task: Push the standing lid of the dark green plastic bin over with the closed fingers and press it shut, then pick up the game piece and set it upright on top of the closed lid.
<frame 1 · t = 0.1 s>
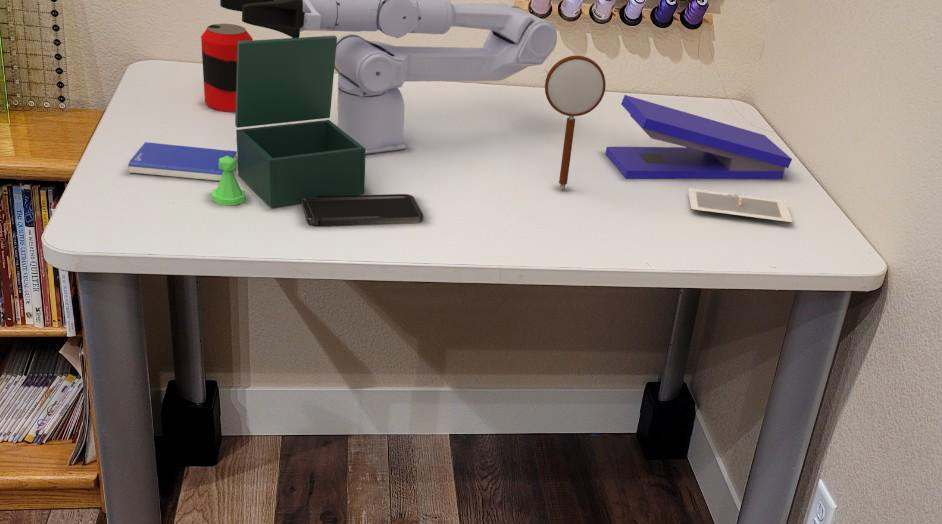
hand: (231, 6, 138), 22 cm above the table, tool horizontal, fingers open, 7 cm apart
bin: (301, 185, 144), on the table
phone: (362, 216, 139), on the table
stapler: (696, 167, 170), on the table
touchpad: (737, 212, 156), on the table
soda can: (230, 105, 167), on the table
hard drive: (184, 168, 144), on the table
bin lid: (286, 81, 140), point 13 cm above the table, hinge at 80.0°
game piece: (228, 200, 137), on the table
magnifying glass: (562, 190, 154), on the table
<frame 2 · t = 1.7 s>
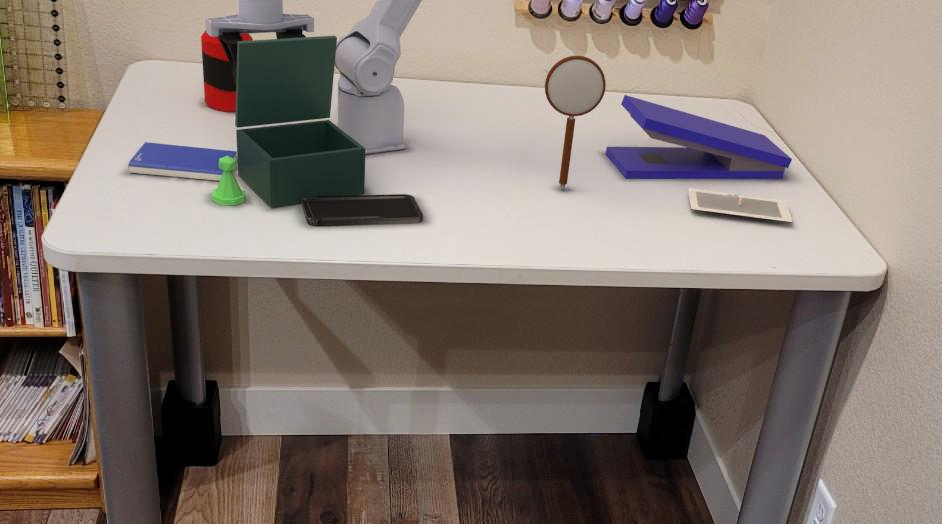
hand: (262, 84, 147), 10 cm above the table, tool pointing down, fingers open, 6 cm apart
nothing on the table moved.
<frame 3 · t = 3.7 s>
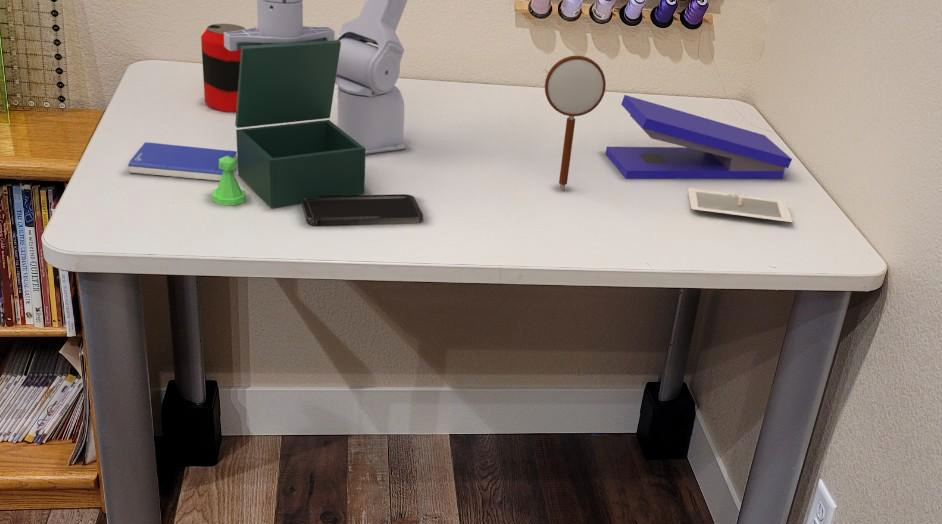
hand: (281, 98, 143), 10 cm above the table, tool pointing down, fingers closed, pressing on bin lid
bin lid: (287, 84, 140), point 13 cm above the table, hinge at 74.0°, touching gripper
everything else where it was.
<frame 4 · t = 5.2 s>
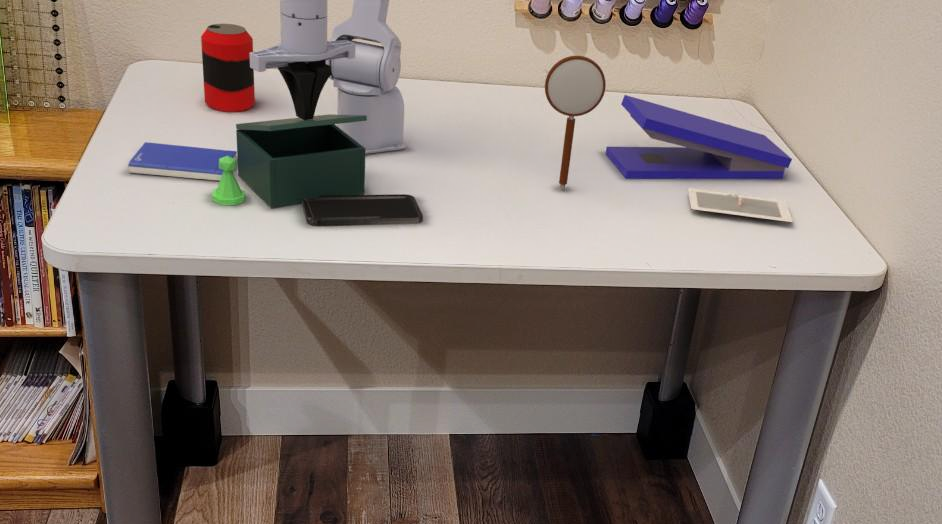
hand: (304, 117, 138), 10 cm above the table, tool pointing down, fingers closed
bin lid: (301, 122, 139), point 9 cm above the table, hinge at 18.8°
everything else where it was.
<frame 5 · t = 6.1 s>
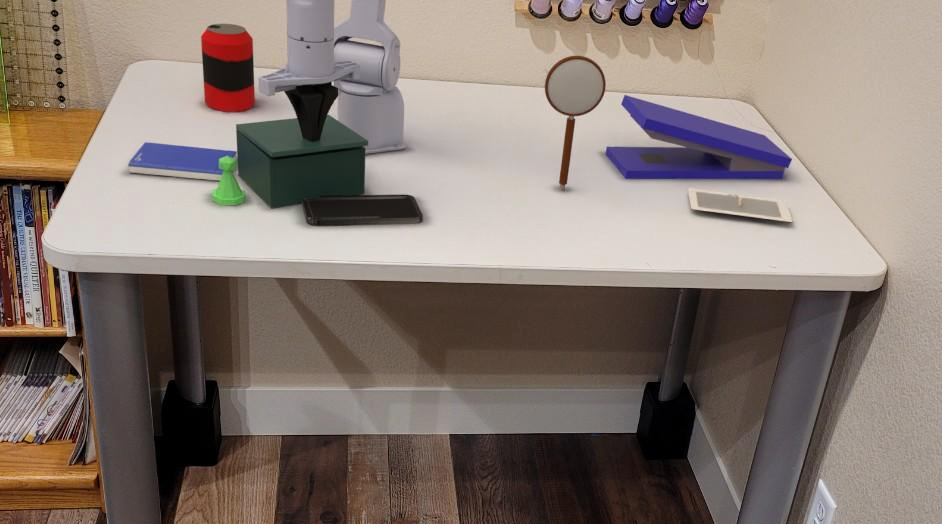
hand: (311, 138, 138), 8 cm above the table, tool pointing down, fingers closed, pressing on bin lid
bin lid: (302, 134, 140), point 7 cm above the table, hinge at 3.0°, touching gripper
everything else where it was.
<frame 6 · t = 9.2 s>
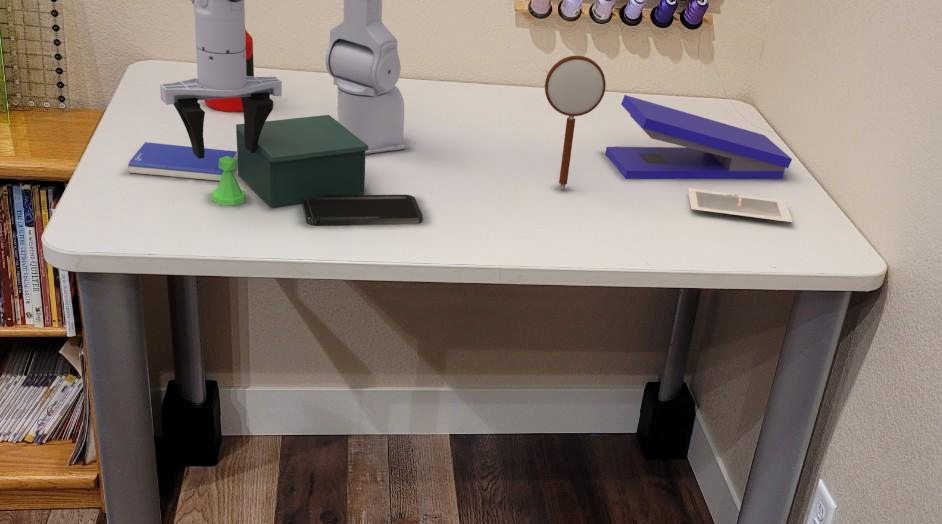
hand: (225, 152, 134), 6 cm above the table, tool pointing down, fingers open, 6 cm apart
bin lid: (302, 137, 140), point 7 cm above the table, hinge at -0.3°, touching bin, gripper
everything else where it was.
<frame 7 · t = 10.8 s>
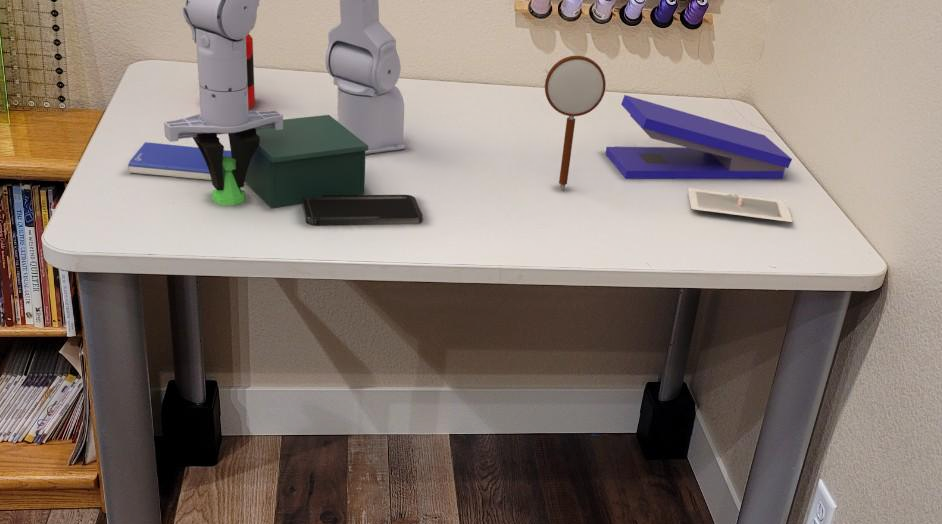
hand: (228, 186, 136), 2 cm above the table, tool pointing down, fingers closed on game piece, 2 cm apart
bin lid: (302, 137, 140), point 7 cm above the table, hinge at -0.3°, touching bin
game piece: (228, 200, 137), on the table, touching gripper
everything else where it was.
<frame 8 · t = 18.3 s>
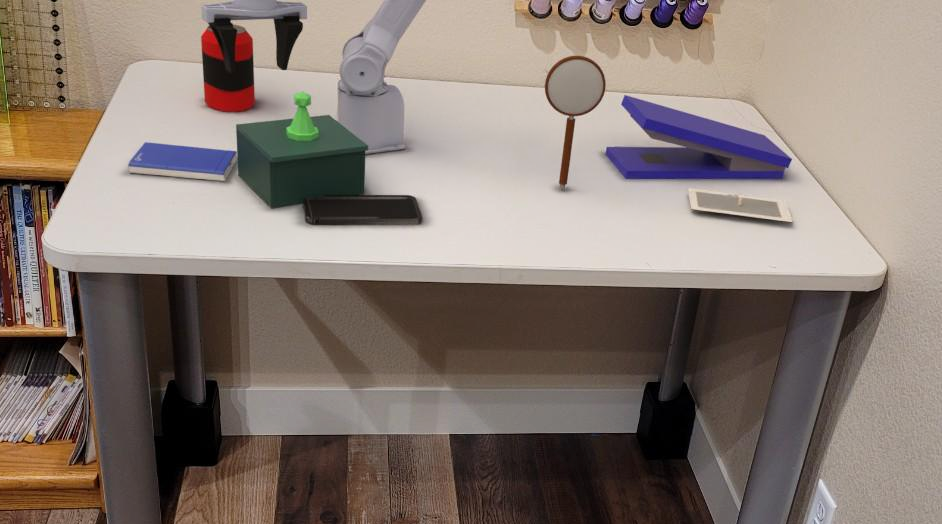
hand: (256, 69, 151), 10 cm above the table, tool pointing down, fingers open, 7 cm apart
bin lid: (302, 137, 140), point 7 cm above the table, hinge at -0.3°, touching bin, game piece
game piece: (302, 136, 140), point 7 cm above the table, touching bin lid
everything else where it was.
at the end: bin lid at +0° (first picture: +80°); game piece inside the target area on the bin (0.0 cm from its centre), point 7.2 cm above the bin's base; game piece tilted 0° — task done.
